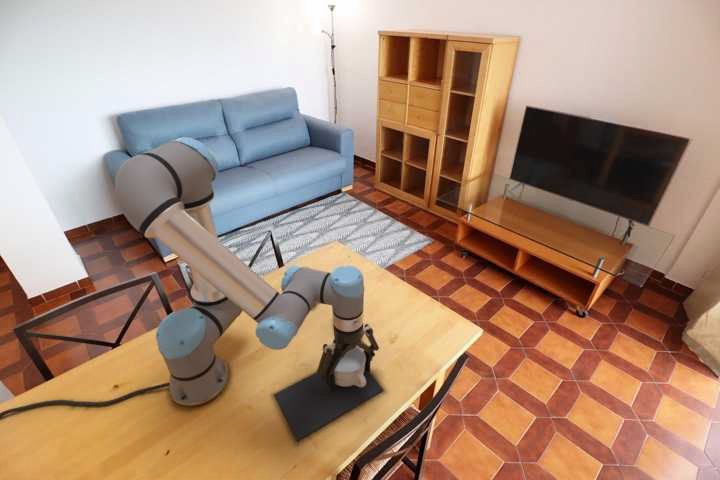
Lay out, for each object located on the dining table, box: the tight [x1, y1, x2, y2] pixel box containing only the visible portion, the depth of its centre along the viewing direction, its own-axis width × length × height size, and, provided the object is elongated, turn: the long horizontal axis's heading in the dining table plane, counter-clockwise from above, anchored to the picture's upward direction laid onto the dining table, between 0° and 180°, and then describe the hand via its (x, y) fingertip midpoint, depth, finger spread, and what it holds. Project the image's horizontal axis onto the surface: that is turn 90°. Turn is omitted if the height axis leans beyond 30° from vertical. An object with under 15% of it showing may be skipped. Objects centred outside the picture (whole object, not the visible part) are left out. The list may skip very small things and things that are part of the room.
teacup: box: [333, 346, 366, 387], centre depth 101 cm, size 14×11×8 cm
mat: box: [273, 368, 384, 442], centre depth 101 cm, size 26×15×1 cm, turn 123°
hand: (349, 378), depth 103 cm, fingers closed on teacup, 11 cm apart
